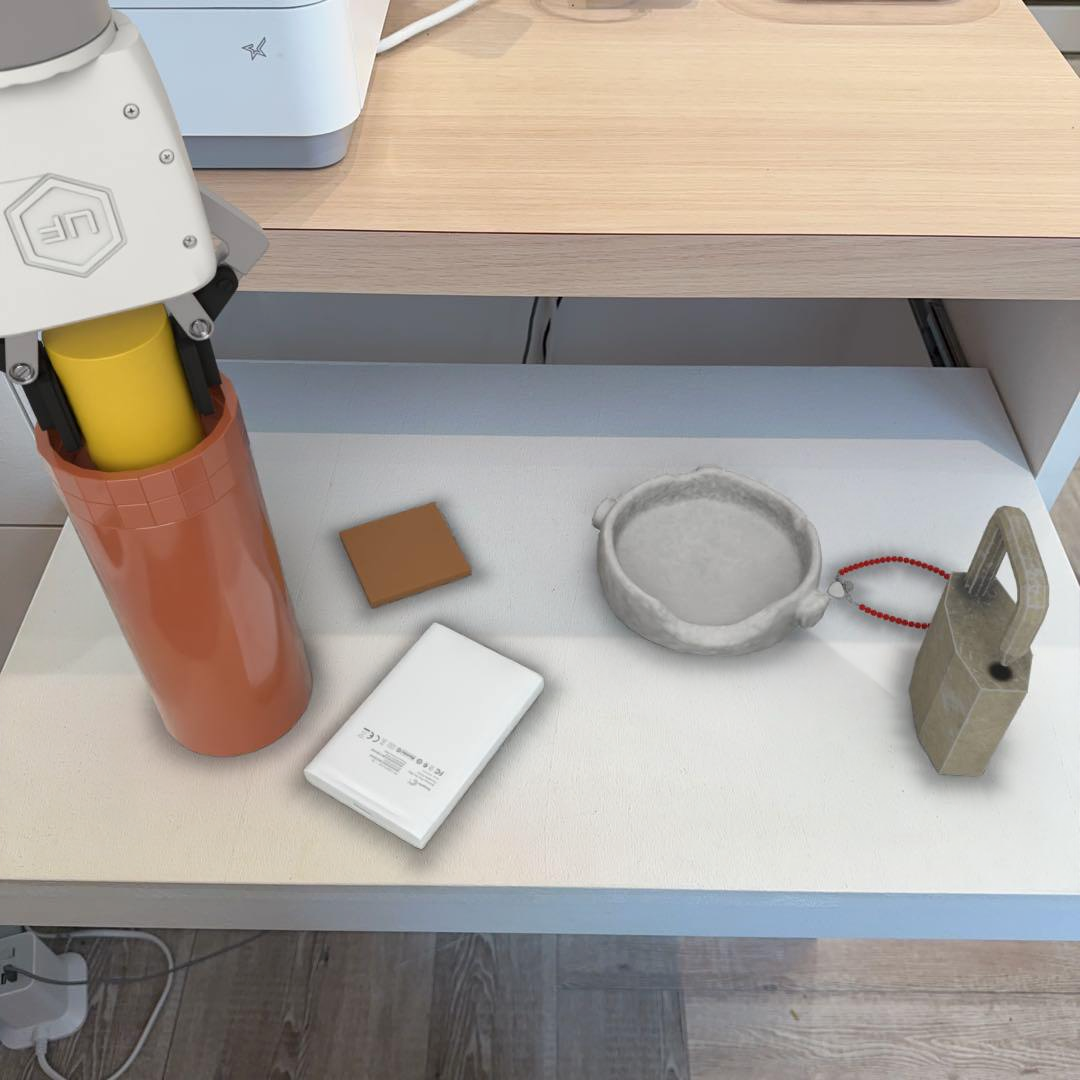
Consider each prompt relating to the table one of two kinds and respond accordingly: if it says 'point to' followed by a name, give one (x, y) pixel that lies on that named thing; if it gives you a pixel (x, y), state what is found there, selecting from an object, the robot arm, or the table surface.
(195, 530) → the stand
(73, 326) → the yellow cylinder
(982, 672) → the padlock
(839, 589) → the necklace
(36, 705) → the table surface
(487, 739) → the hard drive
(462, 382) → the table surface
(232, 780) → the table surface
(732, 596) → the dish
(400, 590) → the mat
